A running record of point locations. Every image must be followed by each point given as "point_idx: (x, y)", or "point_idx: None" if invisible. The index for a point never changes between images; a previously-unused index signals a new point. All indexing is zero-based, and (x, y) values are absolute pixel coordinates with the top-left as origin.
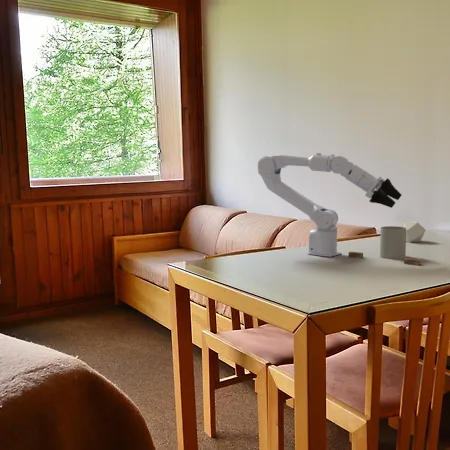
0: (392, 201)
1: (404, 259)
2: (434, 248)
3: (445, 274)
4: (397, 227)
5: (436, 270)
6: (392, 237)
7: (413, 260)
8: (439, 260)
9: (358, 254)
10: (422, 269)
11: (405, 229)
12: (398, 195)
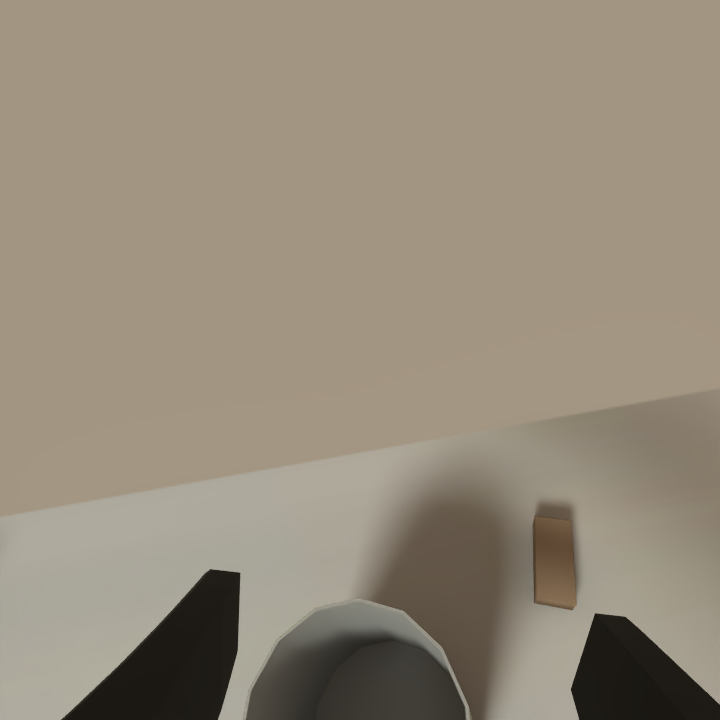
0: (665, 661)
1: (575, 601)
2: (87, 545)
3: (677, 396)
4: (250, 709)
5: (624, 437)
6: (470, 716)
7: (571, 546)
8: (389, 469)
9: None
10: (652, 490)
11: (373, 603)
12: (226, 626)
